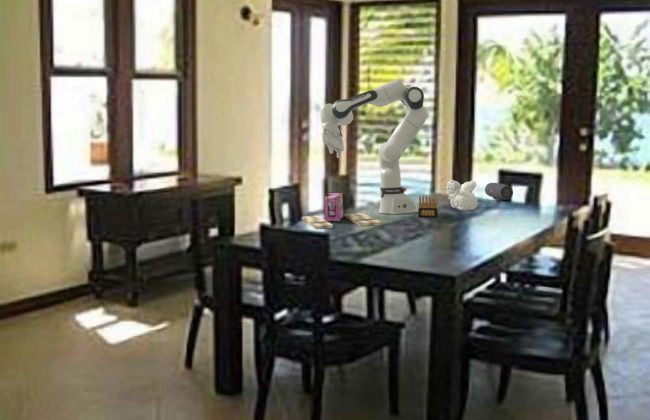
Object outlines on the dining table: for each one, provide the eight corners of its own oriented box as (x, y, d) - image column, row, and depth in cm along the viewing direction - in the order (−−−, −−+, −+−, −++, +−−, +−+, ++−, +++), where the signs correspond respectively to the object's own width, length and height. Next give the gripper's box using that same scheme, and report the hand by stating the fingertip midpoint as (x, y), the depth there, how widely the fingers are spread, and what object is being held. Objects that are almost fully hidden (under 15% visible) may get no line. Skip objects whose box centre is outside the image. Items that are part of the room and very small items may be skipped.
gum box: (339, 222, 469) (338, 196, 468) (324, 222, 470) (323, 196, 469) (343, 216, 493) (342, 191, 491) (329, 216, 494) (328, 192, 492)
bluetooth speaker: (483, 198, 557) (483, 182, 556) (497, 197, 560) (497, 181, 558) (499, 202, 536) (499, 185, 534) (514, 201, 538) (513, 184, 537)
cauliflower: (468, 195, 492) (447, 174, 505) (454, 224, 502) (434, 203, 515) (493, 194, 502) (472, 174, 515) (479, 222, 512) (459, 202, 525)
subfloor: (363, 215, 491) (363, 212, 491) (381, 224, 452) (381, 221, 452) (301, 219, 485) (301, 216, 485) (315, 228, 446) (315, 225, 446)
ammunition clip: (438, 217, 474) (438, 194, 473) (437, 217, 472) (437, 195, 471) (419, 217, 478) (418, 194, 477) (418, 217, 477) (417, 194, 475)
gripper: (328, 125, 486) (332, 148, 482) (343, 135, 504) (348, 158, 500) (317, 128, 489) (321, 152, 485) (333, 138, 507) (337, 161, 502)
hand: (335, 155), depth 492 cm, fingers open, 8 cm apart
